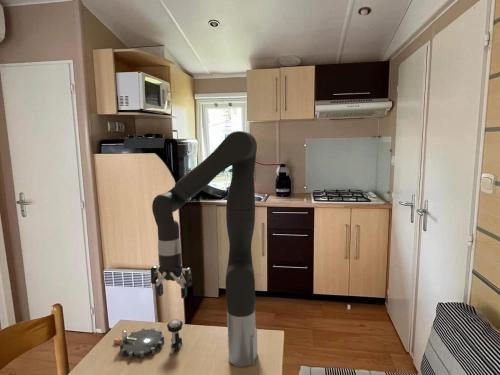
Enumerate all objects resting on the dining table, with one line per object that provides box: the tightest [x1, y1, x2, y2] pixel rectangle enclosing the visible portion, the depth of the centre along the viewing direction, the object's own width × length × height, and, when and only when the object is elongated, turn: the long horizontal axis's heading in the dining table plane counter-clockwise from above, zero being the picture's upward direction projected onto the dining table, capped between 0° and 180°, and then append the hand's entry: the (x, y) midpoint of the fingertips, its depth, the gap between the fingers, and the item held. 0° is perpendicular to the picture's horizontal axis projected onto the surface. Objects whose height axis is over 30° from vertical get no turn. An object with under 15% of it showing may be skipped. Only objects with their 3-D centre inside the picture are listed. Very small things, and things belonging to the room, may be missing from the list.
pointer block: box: [113, 337, 123, 346], centre depth 114 cm, size 3×2×2 cm, turn 77°
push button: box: [166, 318, 183, 355], centre depth 109 cm, size 7×5×10 cm
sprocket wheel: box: [119, 327, 165, 360], centre depth 112 cm, size 15×15×6 cm
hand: (172, 296), depth 108 cm, fingers open, 8 cm apart
